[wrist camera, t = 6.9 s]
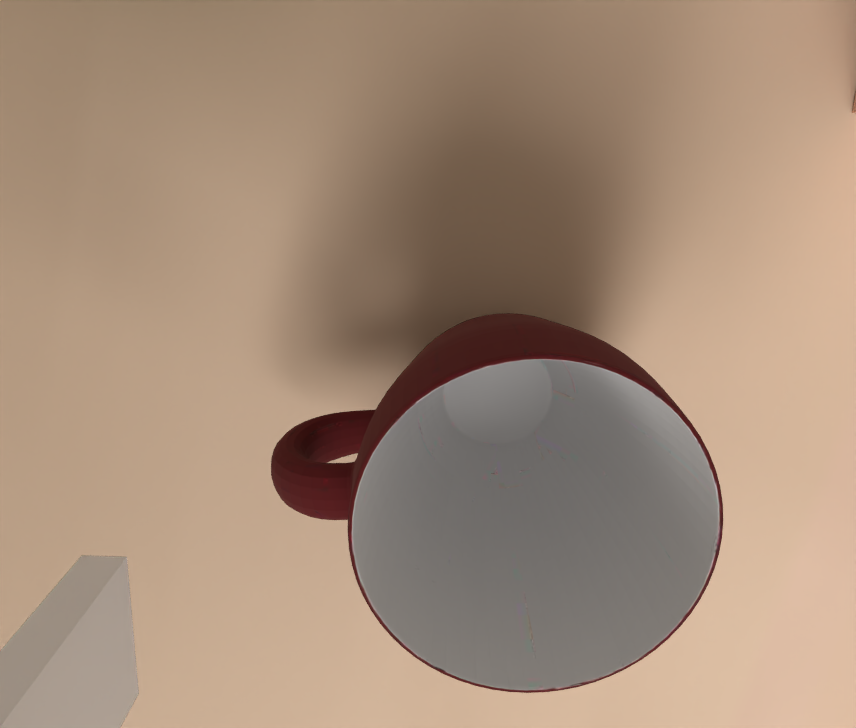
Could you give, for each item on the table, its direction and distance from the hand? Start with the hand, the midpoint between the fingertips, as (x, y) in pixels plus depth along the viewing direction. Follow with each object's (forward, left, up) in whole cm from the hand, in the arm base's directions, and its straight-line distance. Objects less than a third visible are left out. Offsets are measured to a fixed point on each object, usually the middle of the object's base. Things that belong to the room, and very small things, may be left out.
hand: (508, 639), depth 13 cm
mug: (0, 0, -14) cm, 14 cm away
